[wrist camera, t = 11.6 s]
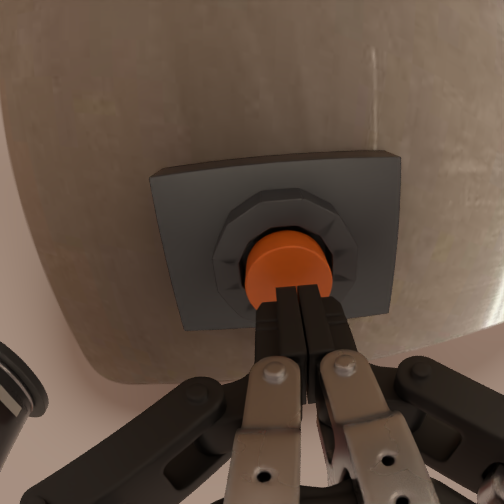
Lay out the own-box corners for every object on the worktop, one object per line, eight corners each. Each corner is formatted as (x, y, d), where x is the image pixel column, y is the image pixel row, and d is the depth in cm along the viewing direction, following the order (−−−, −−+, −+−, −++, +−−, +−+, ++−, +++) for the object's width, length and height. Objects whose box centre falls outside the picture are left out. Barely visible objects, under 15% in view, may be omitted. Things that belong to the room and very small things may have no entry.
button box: (190, 309, 20) (178, 351, 16) (161, 168, 16) (134, 186, 13) (377, 293, 19) (399, 332, 16) (385, 150, 16) (418, 163, 12)
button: (250, 302, 15) (249, 324, 14) (241, 233, 14) (239, 250, 12) (325, 296, 15) (331, 317, 14) (325, 226, 14) (333, 242, 12)
